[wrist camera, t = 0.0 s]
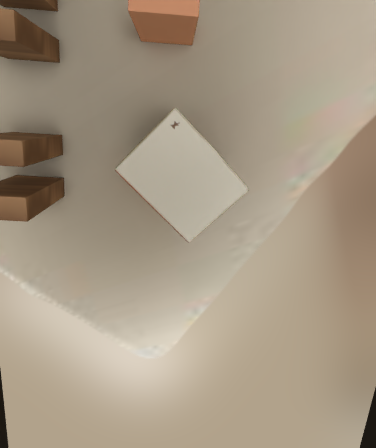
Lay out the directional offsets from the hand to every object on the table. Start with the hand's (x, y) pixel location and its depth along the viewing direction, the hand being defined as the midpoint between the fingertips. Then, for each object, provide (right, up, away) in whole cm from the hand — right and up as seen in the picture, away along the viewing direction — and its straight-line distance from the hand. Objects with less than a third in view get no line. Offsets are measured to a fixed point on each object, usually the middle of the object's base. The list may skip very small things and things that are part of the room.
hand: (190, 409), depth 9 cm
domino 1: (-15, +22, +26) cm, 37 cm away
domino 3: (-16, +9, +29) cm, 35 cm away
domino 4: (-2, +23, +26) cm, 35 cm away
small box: (-1, +12, +29) cm, 32 cm away
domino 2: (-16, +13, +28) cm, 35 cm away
